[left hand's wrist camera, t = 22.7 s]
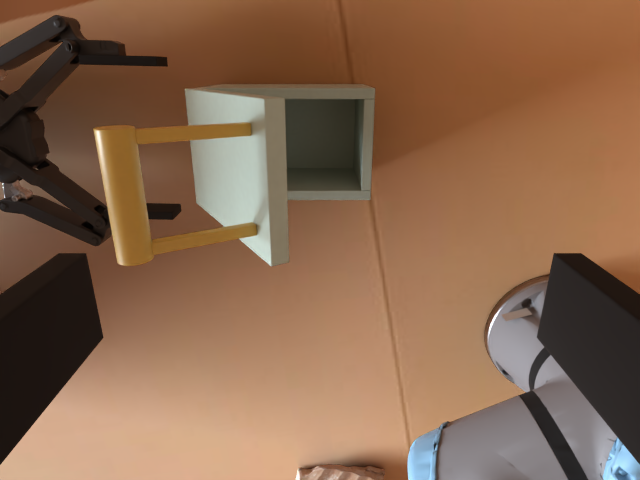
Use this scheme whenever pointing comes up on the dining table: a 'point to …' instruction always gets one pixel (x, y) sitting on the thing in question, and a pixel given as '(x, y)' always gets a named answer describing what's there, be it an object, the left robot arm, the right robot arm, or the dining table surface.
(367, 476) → the stone
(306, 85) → the chest
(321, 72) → the dining table surface
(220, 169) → the lid
